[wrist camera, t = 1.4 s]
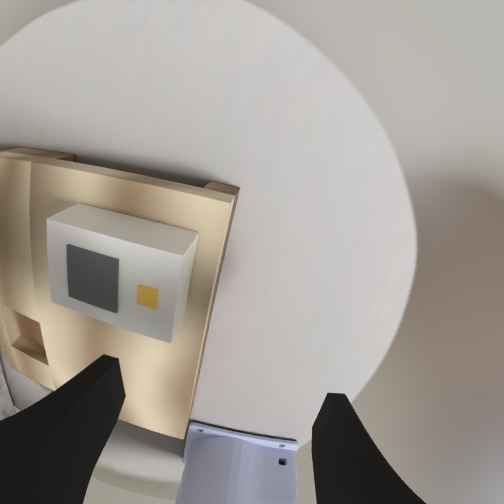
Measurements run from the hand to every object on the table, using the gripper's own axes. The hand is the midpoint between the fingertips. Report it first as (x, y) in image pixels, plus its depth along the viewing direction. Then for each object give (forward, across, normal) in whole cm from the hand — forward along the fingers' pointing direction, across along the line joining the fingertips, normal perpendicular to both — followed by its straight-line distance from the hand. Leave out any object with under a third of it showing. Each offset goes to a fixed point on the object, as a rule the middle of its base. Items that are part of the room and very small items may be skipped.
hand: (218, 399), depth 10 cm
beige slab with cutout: (+9, +10, +2) cm, 13 cm away
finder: (+5, +5, -2) cm, 8 cm away
